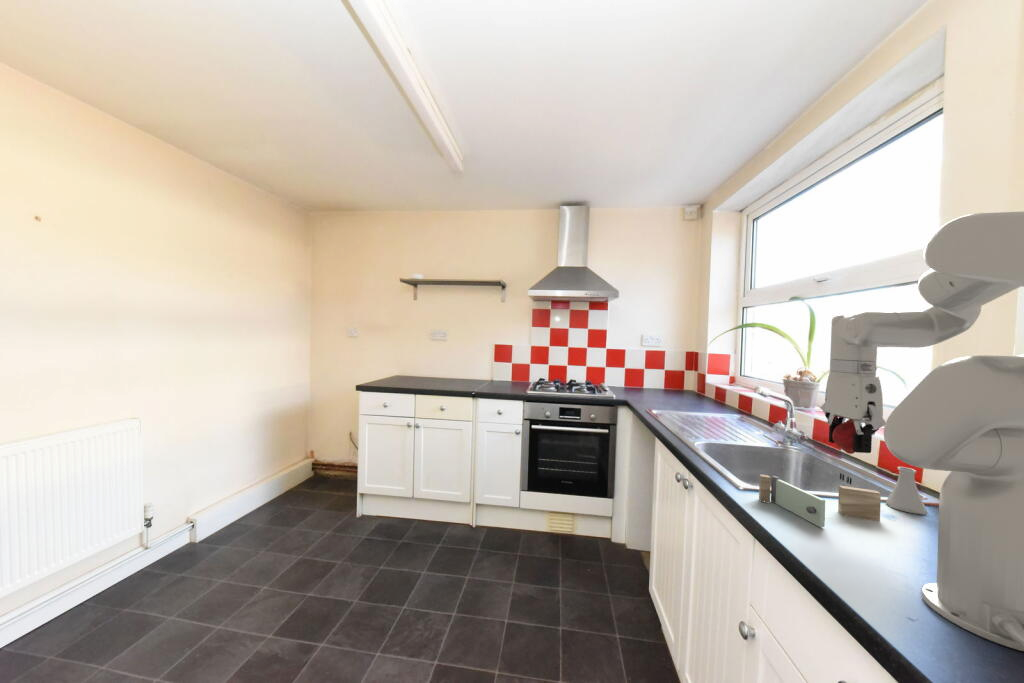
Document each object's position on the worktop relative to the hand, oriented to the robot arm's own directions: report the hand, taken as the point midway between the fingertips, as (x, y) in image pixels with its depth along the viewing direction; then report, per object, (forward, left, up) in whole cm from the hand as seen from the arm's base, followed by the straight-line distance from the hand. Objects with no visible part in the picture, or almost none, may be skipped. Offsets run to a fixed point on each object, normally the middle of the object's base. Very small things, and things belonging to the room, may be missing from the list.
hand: (848, 446), depth 80 cm
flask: (+17, -18, -18) cm, 31 cm away
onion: (0, 0, -2) cm, 2 cm away
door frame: (+6, +3, -18) cm, 19 cm away
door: (+1, +9, -18) cm, 20 cm away
